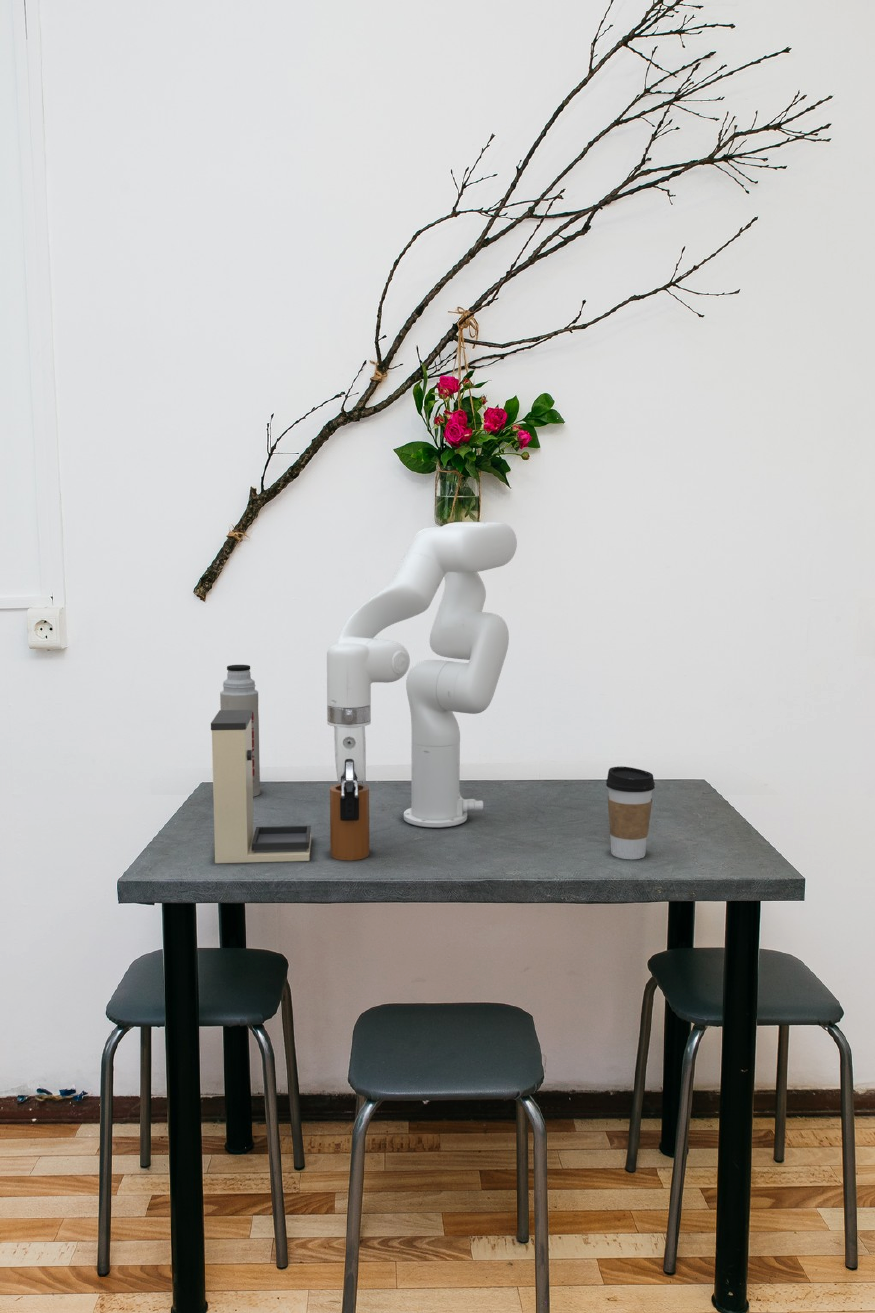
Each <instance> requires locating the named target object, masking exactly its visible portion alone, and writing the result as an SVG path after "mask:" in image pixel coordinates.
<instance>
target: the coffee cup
mask: <svg viewBox="0 0 875 1313" xmlns="http://www.w3.org/2000/svg"><path fill="white" fill-rule="evenodd" d="M654 780H655V778H654V774H653V773H651V771H650V772H649V771H647V770H644V769H639V768H636V767H635V768H634V767H630V766H622V765H621V766H612V767H609V769H608V771H607V778H606V780H605V781H606V782H605V786H606V787H607V788H608V789H607V790H608V796H607V808H608V810H607V811H608V822H609V834H610V836H609V837H610V853H611V855H612V856H614V857H615V858H619V859H623V860H641V859H643V858H645V856H646V850H647V844H648V843H647V842H648V835H649V828H650V820H651V813H652V805H653V798H652V795H653V790H655V785H656V784H655V781H654Z"/></svg>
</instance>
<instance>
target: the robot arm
mask: <svg viewBox="0 0 875 1313" xmlns="http://www.w3.org/2000/svg"><path fill="white" fill-rule="evenodd" d="M517 540H518V539H517V535H516V533H515V531H514V529H513V528H512V527H511V526H510V525H509V524H508V523H505V522H502V521H455V522H450V523H446V524H443V525H442V526H430V527H425V528H423V529H420V530H419V531H418V532H416V534H415V535H414V537H412V539H411V541H410V543H409V545H408V547H407V549H406V551H405V553H404V555H403V557H402V559H401V561H400V562H399V564H398V567H397V569H396V570H395V572H394V573H393V576H392V578H391V580H390V582H389V584H388V585H387V586H386V587H385V588H384V589H382V590H381V591H378V592H377V593H376V594H374V595H373V596H372V597H371V598H369V599H368V600H366V602H364V603H363V604H362V605H360V606H359V607H358V608H357V609H356V610H354V612H353V613H352V614H351V615H350V617H349V618H348V619H347V620H346V622H345V624H344V626H343V628H342V630H341V631H340V633H339V635H338V637H337V640H336V642H335V644H332V645H330V646H329V647H328V649H327V651H326V723H327V725H328V726H330V727H334V728H333V731H334V732H333V734H334V736H333V737H334V760H335V761H334V762H335V770H336V771H335V772H336V779H337V782H338V784H342V797H340V820H341V821H357V820H359V797H358V783H359V782H361V784H364V783H365V782H367V762H366V761H367V760H366V758H367V757H366V756H367V755H366V754H367V753H366V752H367V750H366V749H367V747H366V745H367V744H366V740H367V739H366V726H370V725H371V724H372V708H371V707H372V704H371V703H372V697H371V696H372V695H371V694H372V691H371V690H372V684H373V683H384V684H385V683H386V684H388V683H389V684H390V683H394V682H396V681H399V680H400V679H402V678H404V676H405V675H406V674H407V676H406V680H405V688H406V695H407V700H408V705H409V712H410V724H411V726H410V727H411V746H410V747H411V754H410V755H411V765H410V766H411V770H410V771H411V772H410V773H411V775H410V776H411V777H410V778H411V781H410V784H411V786H410V788H411V789H410V790H411V793H410V794H411V796H410V797H411V798H410V800H411V801H410V803H411V807H409V808H407V809H406V810H404V812H403V820H404V821H405V822H406V823H407V824H410V825H413V826H416V827H421V828H422V827H423V828H449V827H454V826H459V825H461V824H463V823H465V822H466V821H467V820H468V811H475V812H476V811H478V812H479V811H484V800H476V799H475V798H467V799H466V798H464V797H462V795H461V792H460V785H461V784H460V783H461V782H460V781H461V780H460V778H461V775H460V773H461V769H460V768H461V766H460V764H461V762H460V761H461V760H460V759H461V732H460V731H461V730H460V727H459V722H458V720H457V718H456V716H455V713H461V714H469V715H470V714H471V715H477V714H481V713H483V712H484V711H486V710H487V709H488V707H489V706H490V705H491V703H492V701H493V698H494V696H495V692H496V689H497V686H498V682H499V680H500V677H501V673H502V671H503V670H502V669H503V666H504V663H505V660H506V657H507V652H508V649H509V643H510V642H509V640H510V634H509V628H508V625H507V622H506V621H505V619H504V618H503V617H502V616H500V615H498V614H496V613H493V612H485V611H483V610H484V605H485V602H486V598H487V590H486V587H485V584H484V581H483V580H482V578H481V576H480V575H479V573H480V572H483V571H488V570H492V569H496V568H500V567H503V566H505V565H507V564H508V563H509V562H511V561H512V559H513V558H514V556H515V555H516V552H517V547H518V541H517ZM443 580H444V589H443V591H442V596H441V599H440V602H439V605H438V607H437V612H436V614H435V617H434V621H433V623H432V627H431V630H430V632H429V633H430V634H429V647H430V649H431V651H432V652H433V653H434V654H436V655H437V656H440V657H444V658H448V659H455V660H465V661H468V662H461V661H460V662H459V661H451V660H441V659H425V660H421V661H419V662H416V663H415V664H414V665H412V667H410V662H411V659H410V654H409V652H408V650H407V648H406V647H405V646H404V645H402V644H401V643H399V642H398V641H394V640H390V639H378V638H375V637H376V636H377V635H378V634H380V633H381V632H382V631H383V630H385V629H386V628H388V627H391V626H393V625H394V624H397V623H400V622H403V621H406V620H409V619H411V618H413V617H416V616H418V615H420V614H423V613H425V612H426V611H427V610H428V609H429V608H430V606H431V604H432V603H433V600H434V597H435V596H436V593H437V592H438V589H440V588H439V587H440V586H441V584H442V582H443ZM409 668H410V669H409ZM407 672H408V673H407ZM354 791H355V794H354ZM354 796H355V797H354Z"/></svg>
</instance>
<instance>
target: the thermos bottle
mask: <svg viewBox="0 0 875 1313" xmlns="http://www.w3.org/2000/svg"><path fill="white" fill-rule="evenodd" d="M226 670H227V675H226V679H225V680H223V682H222V688H223V689H222V690H221V691H220V693H219V697H220V698H219V699H220V704H219V705H220V710H252V717H251V725H252V776H253V798H254V797H257V796H259V795H260V794H261V772H260V771H261V770H260V769H261V768H260V765H261V764H260V717H259V716H260V714H259V691H258V690H257V689H256V686H257V685H256V682H255V680H254V679H253V678H252V677H251V674H252V673H251V665H249V664H230V665H227V666H226Z"/></svg>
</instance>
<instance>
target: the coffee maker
mask: <svg viewBox="0 0 875 1313" xmlns="http://www.w3.org/2000/svg"><path fill="white" fill-rule="evenodd" d="M251 717H252V710H221V709H220V710H218V711H217V713H216V715H215V716H214V718H213V719H212V721H211V722H210V731H211V750H212V752H211V753H212V755H211V756H212V757H211V758H212V790H213V791H212V792H213V827H214V828H213V832H214V833H213V834H214V836H213V837H214V863H215V864H242V863H243V864H245V863H281V862H282V863H283V862H310V860H311V847H312V832H311V829H312V828H311V827H312V826H311V825H278V826H276V825H275V826H273V825H272V826H270V825H269V826H255V828H254V797H253V776H252V725H251ZM254 829H255V830H254Z"/></svg>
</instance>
